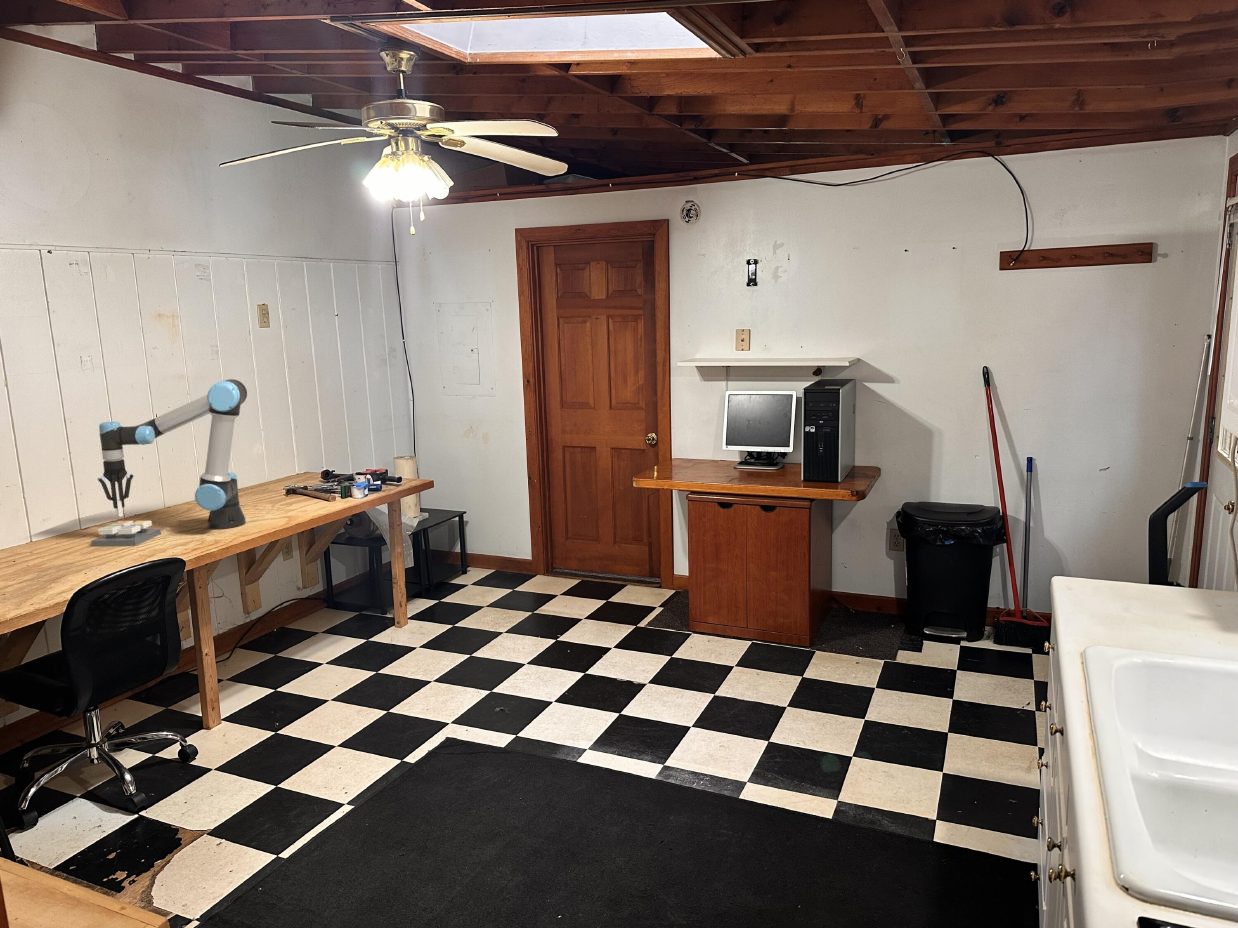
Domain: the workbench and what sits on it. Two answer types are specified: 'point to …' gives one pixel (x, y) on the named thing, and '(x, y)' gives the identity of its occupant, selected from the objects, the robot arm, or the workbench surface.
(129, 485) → the robot arm
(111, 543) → the keypad board
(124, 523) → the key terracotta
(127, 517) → the workbench surface
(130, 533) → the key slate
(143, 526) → the cream key cap
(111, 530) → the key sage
